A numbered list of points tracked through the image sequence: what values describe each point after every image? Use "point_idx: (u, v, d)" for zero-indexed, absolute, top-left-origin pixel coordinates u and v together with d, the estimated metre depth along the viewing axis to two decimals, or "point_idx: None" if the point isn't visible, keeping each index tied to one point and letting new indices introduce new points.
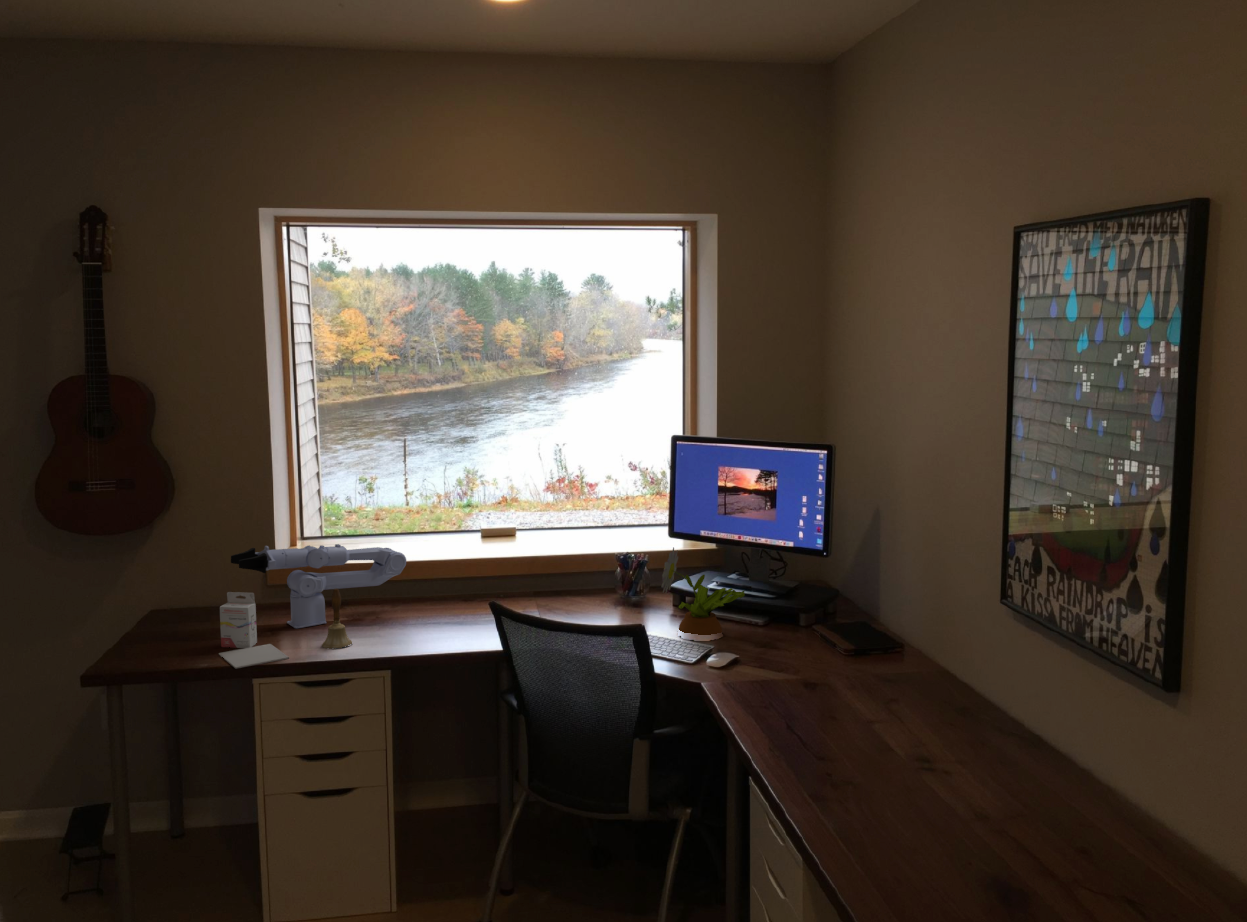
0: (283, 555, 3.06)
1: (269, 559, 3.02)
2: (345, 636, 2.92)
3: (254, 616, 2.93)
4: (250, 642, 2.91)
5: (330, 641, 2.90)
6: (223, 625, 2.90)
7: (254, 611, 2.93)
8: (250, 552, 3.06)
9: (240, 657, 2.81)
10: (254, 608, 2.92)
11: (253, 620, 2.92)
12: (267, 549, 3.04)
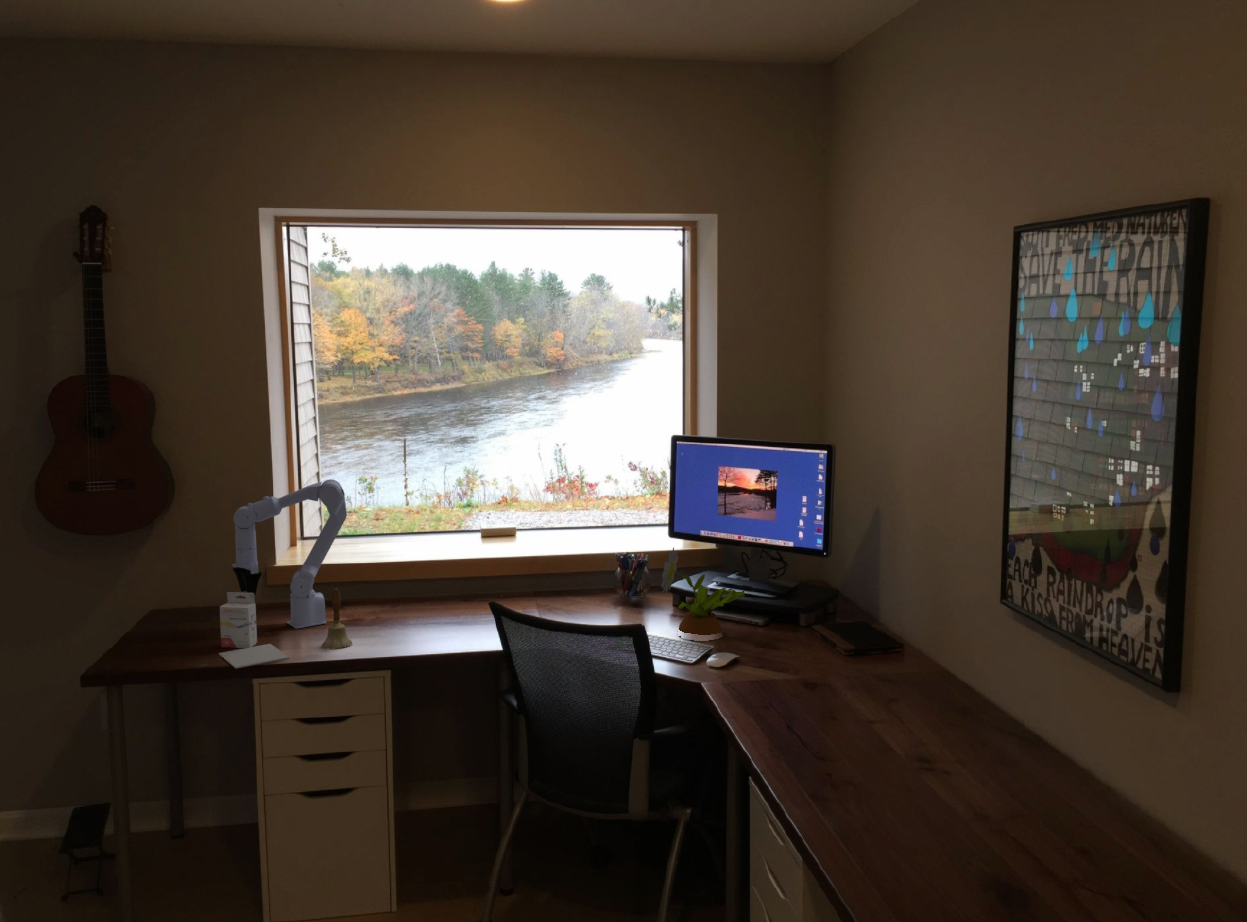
0: (243, 551, 3.05)
1: None
2: (345, 636, 2.92)
3: (254, 616, 2.93)
4: (250, 642, 2.91)
5: (330, 641, 2.90)
6: (223, 625, 2.90)
7: (254, 611, 2.93)
8: (238, 574, 3.10)
9: (240, 657, 2.81)
10: (254, 608, 2.92)
11: (253, 620, 2.92)
12: (236, 566, 3.05)
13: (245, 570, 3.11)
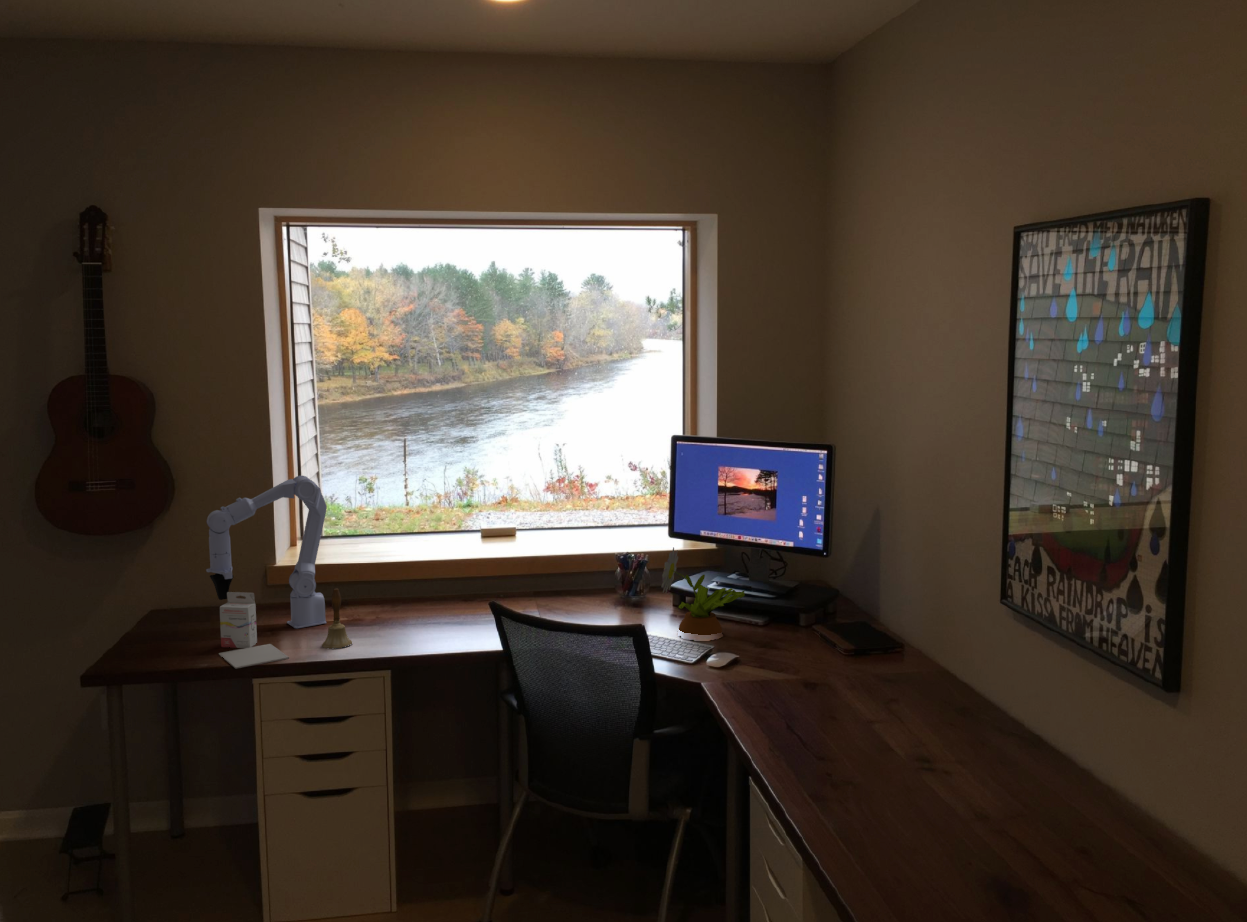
0: (217, 556, 2.98)
1: None
2: (345, 636, 2.92)
3: (254, 616, 2.93)
4: (250, 642, 2.91)
5: (330, 641, 2.90)
6: (223, 625, 2.90)
7: (254, 611, 2.93)
8: None
9: (240, 657, 2.81)
10: (254, 608, 2.92)
11: (253, 620, 2.92)
12: (210, 571, 2.99)
13: None
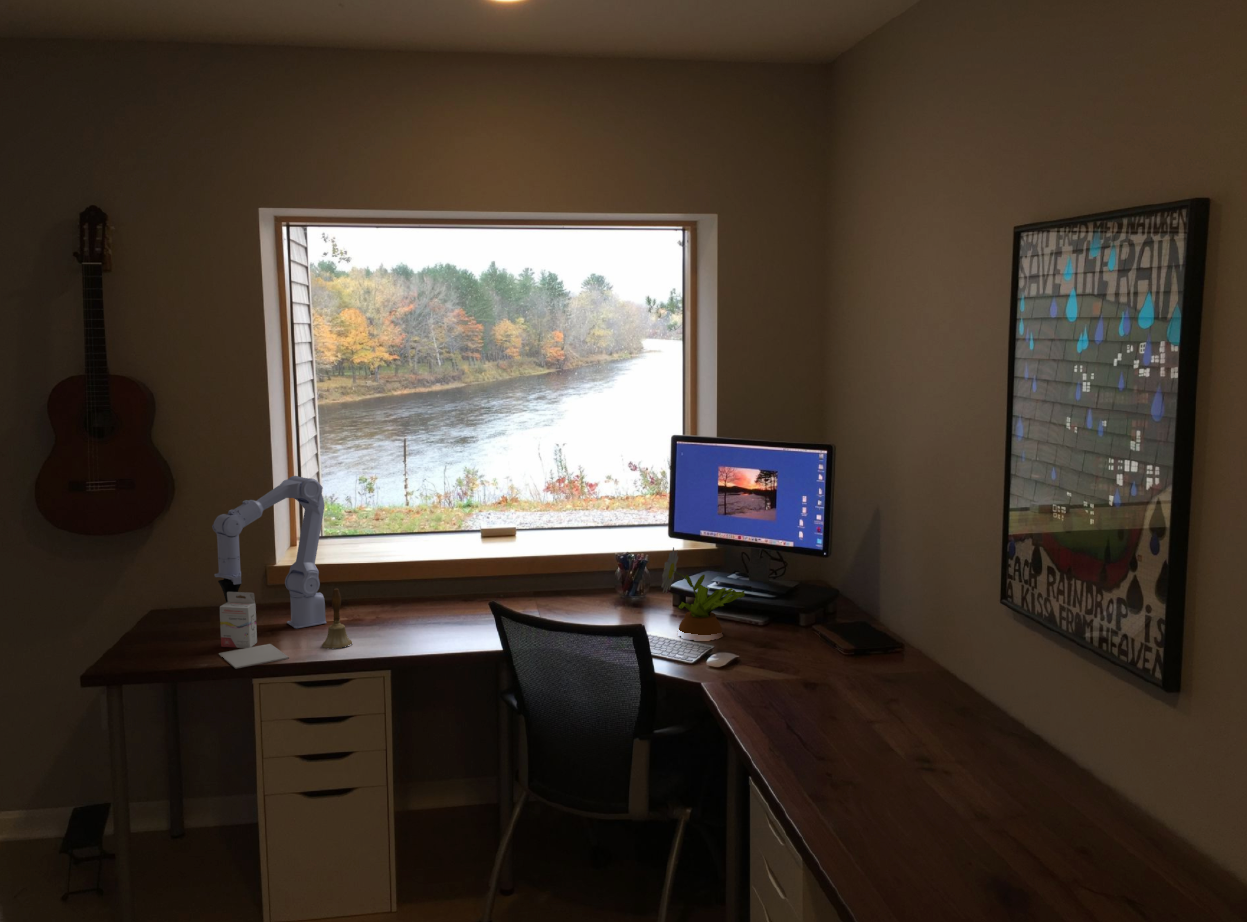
0: (226, 561, 2.92)
1: None
2: (345, 636, 2.92)
3: (254, 616, 2.92)
4: (250, 642, 2.91)
5: (330, 641, 2.90)
6: (223, 625, 2.90)
7: (254, 611, 2.92)
8: None
9: (240, 657, 2.81)
10: (254, 608, 2.92)
11: (253, 620, 2.92)
12: (218, 576, 2.92)
13: None
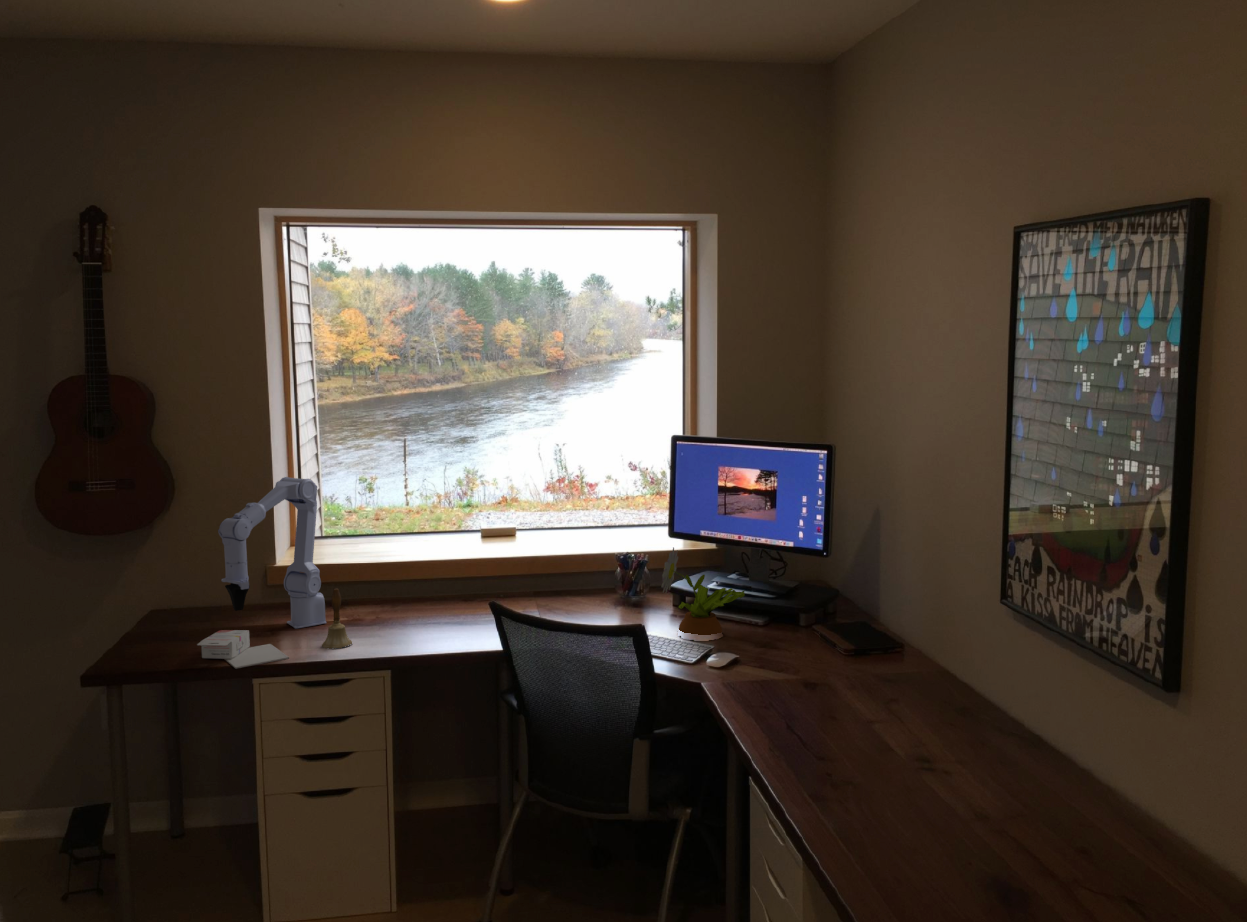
0: (233, 566, 2.86)
1: None
2: (345, 636, 2.92)
3: (237, 642, 2.82)
4: (247, 646, 2.89)
5: (330, 641, 2.90)
6: None
7: (235, 643, 2.81)
8: None
9: (240, 657, 2.81)
10: (233, 644, 2.80)
11: (238, 643, 2.83)
12: (226, 581, 2.87)
13: None
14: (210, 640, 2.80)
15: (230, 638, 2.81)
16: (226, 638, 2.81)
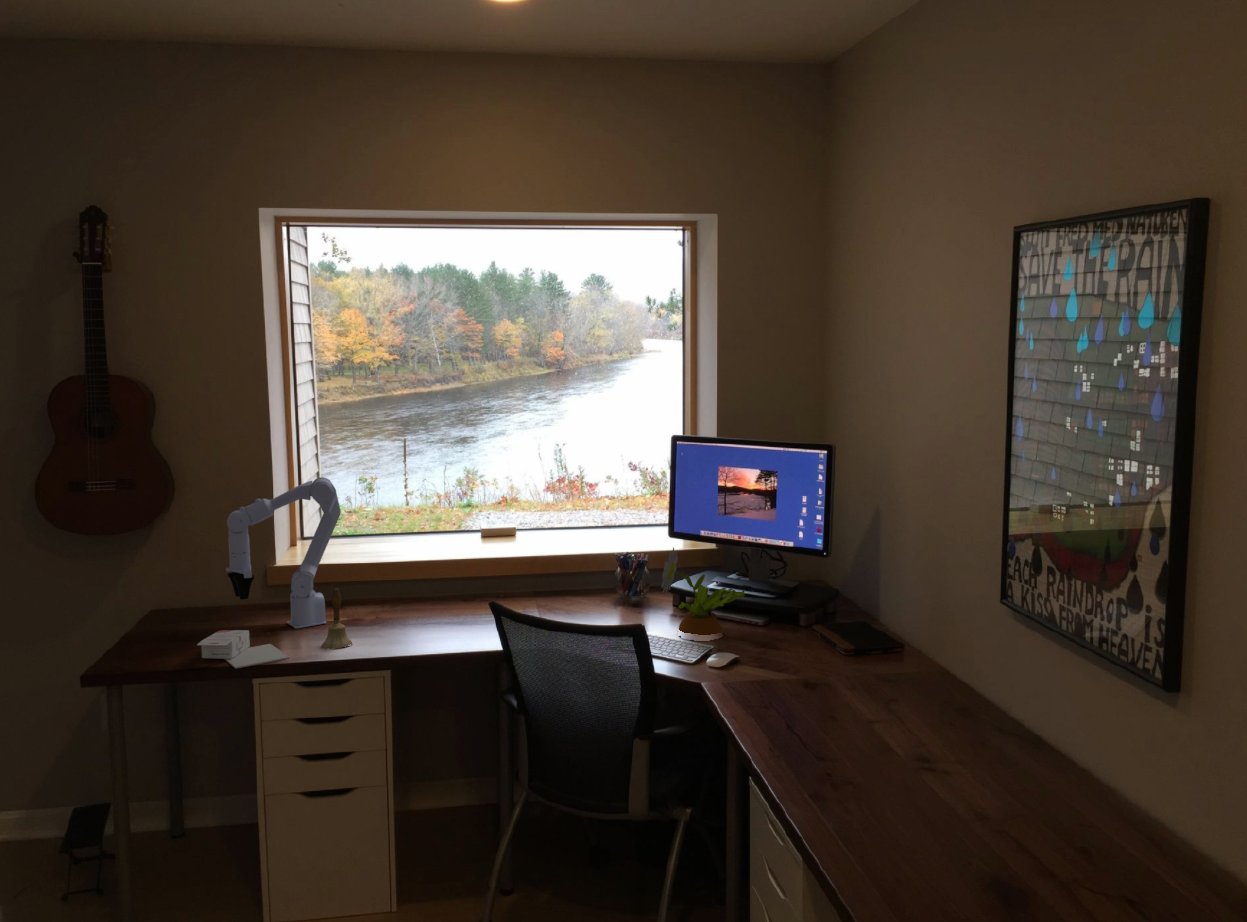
0: (237, 556, 3.04)
1: None
2: (345, 636, 2.92)
3: (237, 642, 2.82)
4: (247, 646, 2.89)
5: (330, 641, 2.90)
6: None
7: (235, 643, 2.81)
8: (232, 579, 3.08)
9: (240, 657, 2.81)
10: (233, 644, 2.80)
11: (238, 643, 2.83)
12: (230, 570, 3.04)
13: (240, 575, 3.09)
14: (210, 640, 2.80)
15: (230, 638, 2.81)
16: (226, 638, 2.81)
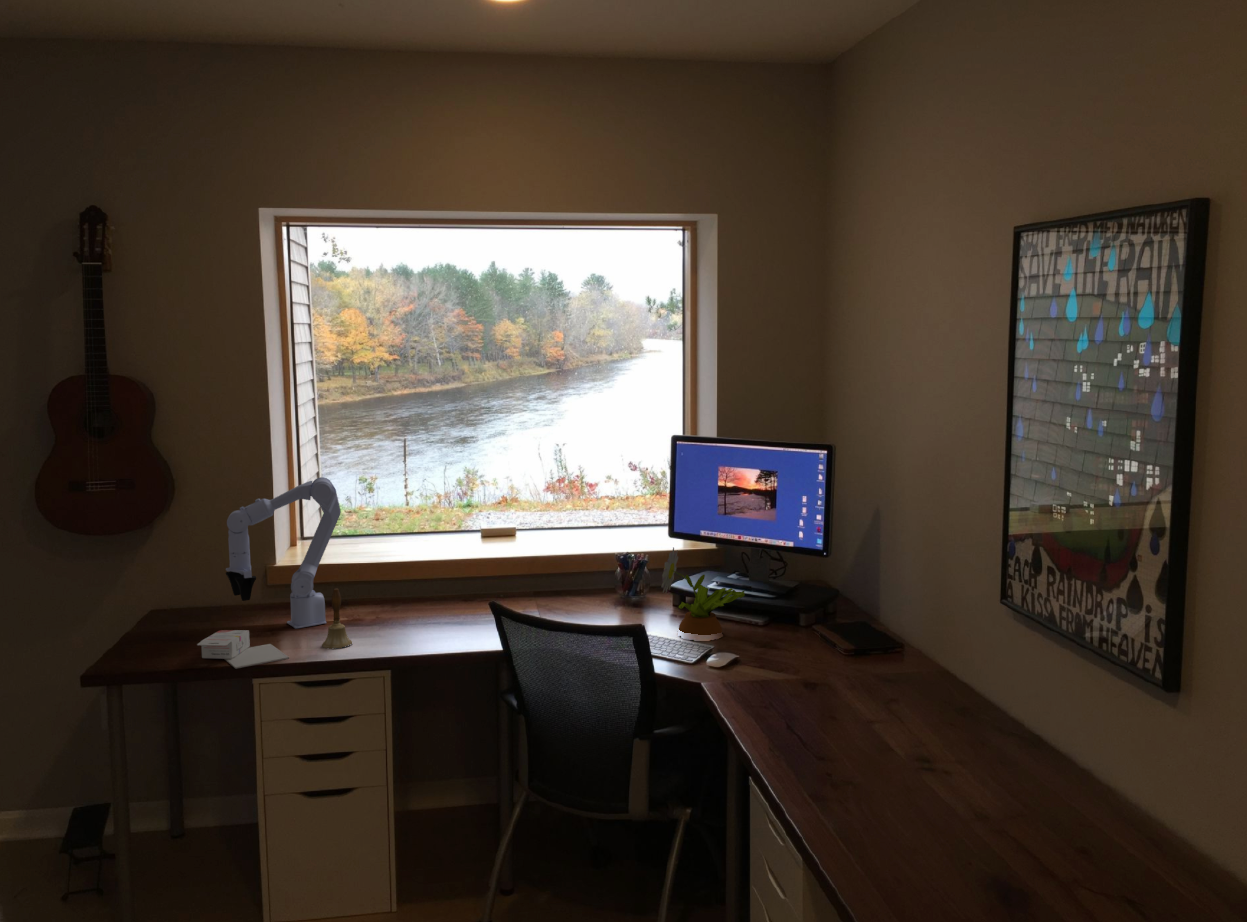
0: (237, 556, 3.04)
1: None
2: (345, 636, 2.92)
3: (237, 642, 2.82)
4: (247, 646, 2.89)
5: (330, 641, 2.90)
6: None
7: (235, 643, 2.81)
8: (231, 577, 3.09)
9: (240, 657, 2.81)
10: (233, 644, 2.80)
11: (238, 643, 2.83)
12: (230, 570, 3.04)
13: (238, 574, 3.11)
14: (210, 640, 2.80)
15: (230, 638, 2.81)
16: (226, 638, 2.81)
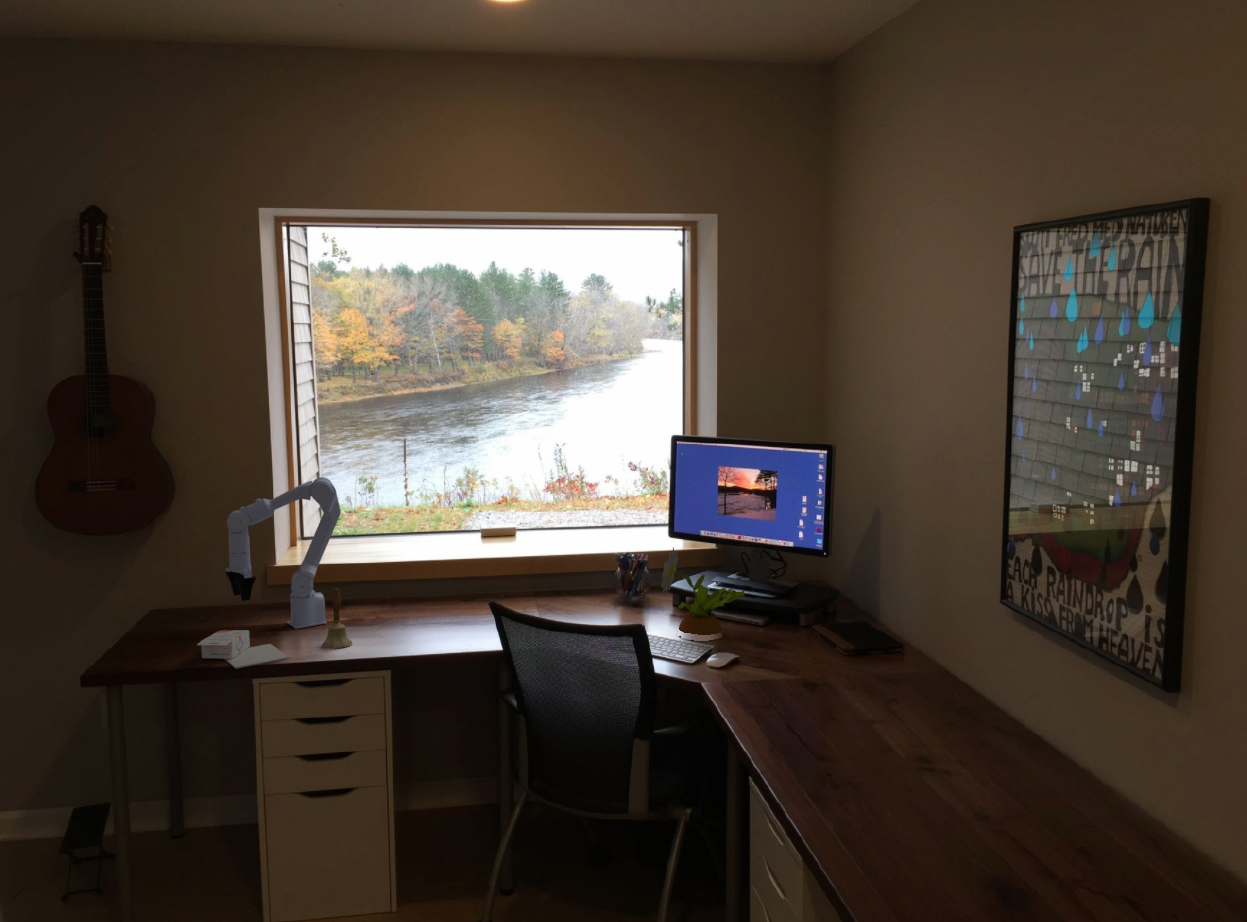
0: (237, 556, 3.04)
1: None
2: (345, 636, 2.92)
3: (237, 642, 2.82)
4: (247, 646, 2.89)
5: (330, 641, 2.90)
6: None
7: (235, 643, 2.81)
8: (231, 577, 3.09)
9: (240, 657, 2.81)
10: (233, 644, 2.80)
11: (238, 643, 2.83)
12: (230, 570, 3.04)
13: (238, 574, 3.11)
14: (210, 640, 2.80)
15: (230, 638, 2.81)
16: (226, 638, 2.81)
